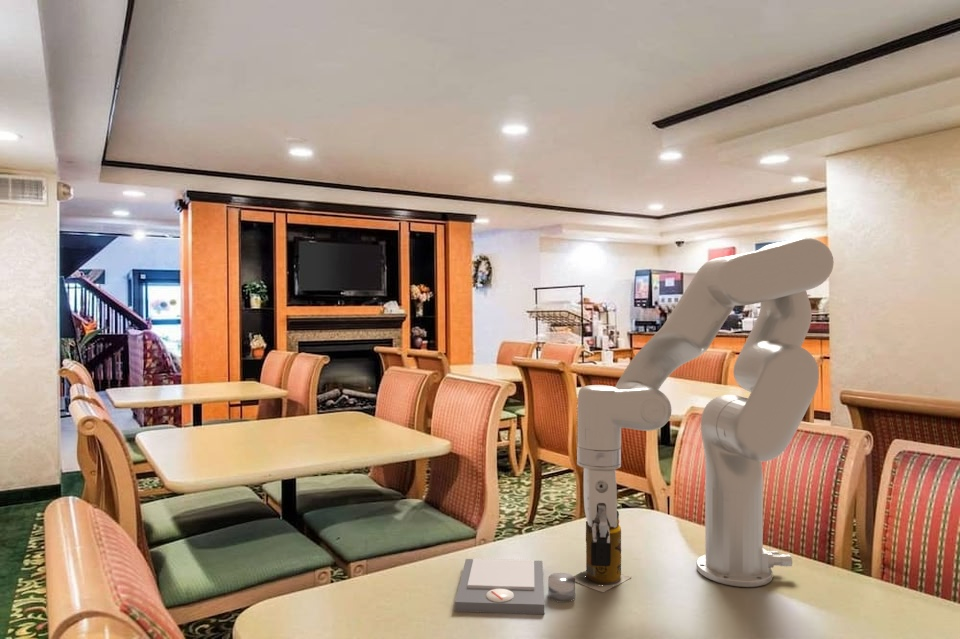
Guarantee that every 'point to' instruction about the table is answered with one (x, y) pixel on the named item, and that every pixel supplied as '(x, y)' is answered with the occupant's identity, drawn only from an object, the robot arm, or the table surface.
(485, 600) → the scale
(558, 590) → the knob
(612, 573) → the condiment
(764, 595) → the table surface
